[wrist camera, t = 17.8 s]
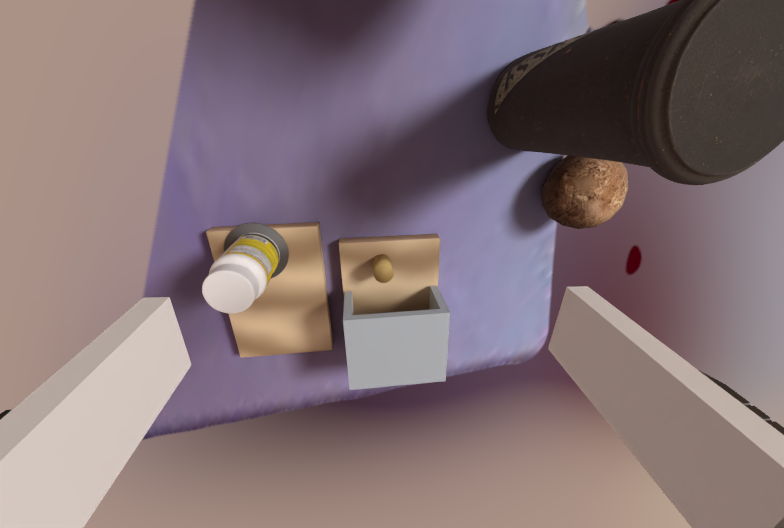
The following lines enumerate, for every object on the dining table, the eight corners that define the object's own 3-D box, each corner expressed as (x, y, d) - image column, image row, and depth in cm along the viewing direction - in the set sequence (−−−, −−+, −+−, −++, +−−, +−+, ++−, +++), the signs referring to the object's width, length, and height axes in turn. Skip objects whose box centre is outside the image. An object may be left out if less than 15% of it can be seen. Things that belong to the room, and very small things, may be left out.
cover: (344, 291, 36) (342, 320, 30) (436, 285, 36) (450, 312, 31) (350, 354, 39) (349, 389, 34) (433, 347, 40) (445, 380, 35)
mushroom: (635, 212, 34) (650, 209, 28) (555, 238, 37) (555, 240, 32) (607, 143, 34) (617, 127, 29) (531, 176, 38) (527, 167, 32)
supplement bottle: (251, 280, 34) (221, 326, 26) (223, 244, 32) (181, 283, 24) (290, 261, 34) (270, 302, 26) (263, 223, 32) (234, 256, 24)
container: (579, 53, 30) (928, -52, 12) (556, 153, 33) (792, 192, 15) (492, 47, 29) (723, -79, 11) (477, 151, 32) (631, 188, 14)
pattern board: (339, 238, 35) (337, 254, 31) (437, 233, 36) (447, 248, 32) (349, 353, 41) (349, 378, 37) (432, 346, 42) (440, 370, 38)
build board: (210, 220, 33) (203, 225, 31) (318, 215, 34) (316, 220, 32) (244, 349, 39) (240, 358, 38) (333, 342, 40) (332, 351, 39)
